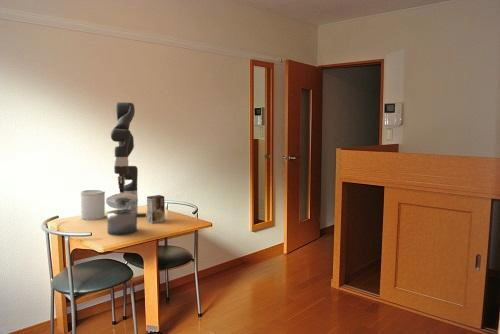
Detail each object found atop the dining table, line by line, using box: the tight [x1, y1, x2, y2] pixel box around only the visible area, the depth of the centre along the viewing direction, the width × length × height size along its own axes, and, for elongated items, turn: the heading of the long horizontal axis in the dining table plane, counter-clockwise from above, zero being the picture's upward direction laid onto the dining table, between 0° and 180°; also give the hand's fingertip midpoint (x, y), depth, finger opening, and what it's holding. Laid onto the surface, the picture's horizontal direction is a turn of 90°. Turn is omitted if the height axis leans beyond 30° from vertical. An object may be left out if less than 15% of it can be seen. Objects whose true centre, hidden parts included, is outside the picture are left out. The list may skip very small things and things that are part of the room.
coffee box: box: [146, 194, 166, 224], centre depth 246 cm, size 9×6×16 cm
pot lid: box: [105, 191, 139, 210], centre depth 223 cm, size 18×17×3 cm
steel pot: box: [106, 209, 147, 236], centre depth 223 cm, size 16×21×11 cm
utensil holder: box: [79, 188, 106, 221], centre depth 253 cm, size 15×15×18 cm
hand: (121, 195), depth 220 cm, fingers closed
